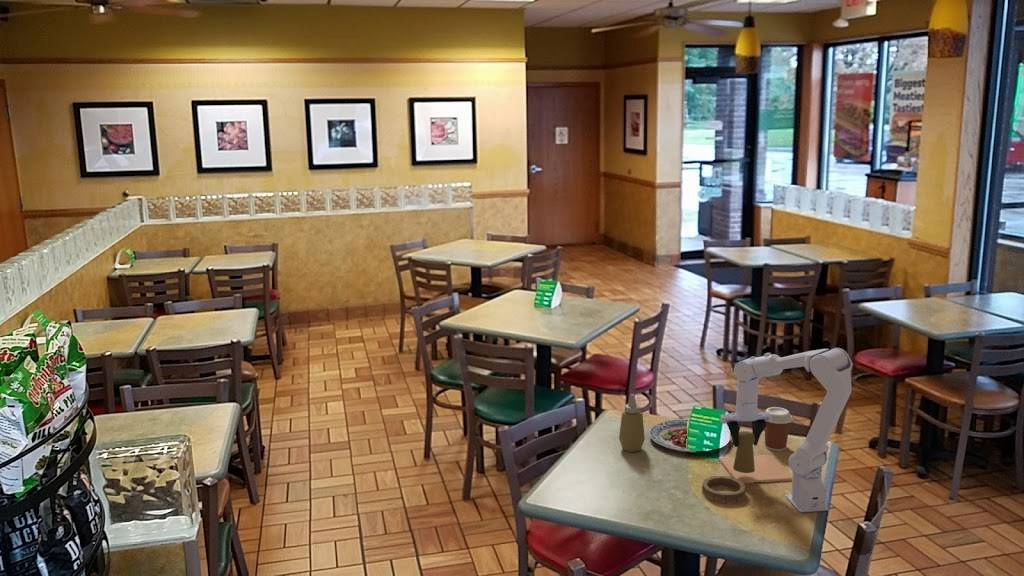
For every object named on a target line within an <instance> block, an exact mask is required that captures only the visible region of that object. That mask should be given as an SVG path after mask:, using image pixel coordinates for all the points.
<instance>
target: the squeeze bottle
mask: <svg viewBox="0 0 1024 576" xmlns="http://www.w3.org/2000/svg"><path fill="white" fill-rule="evenodd" d="M628 400H629V401H628V403H627V404H625V405H624V410H623V411H622V413H621V419H620V425H619V426H620V427H619V434H618V435H619V437H618V438H619V439H618V440H619V441H620V442H619V443H620V446H621V448H622V449H623V450H624V451H626V452H630V453H636V452H640V451H641V450H642V449H643V445H644V443H645V426H644V416H643V414H644V413H642V411H640V409H641V407H640V405H639V404H638V403H637V402H636V397H635V394H632V393H631V394H630V395H629V399H628Z"/></svg>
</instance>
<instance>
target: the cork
mask: <svg viewBox="0 0 1024 576" xmlns="http://www.w3.org/2000/svg"><path fill="white" fill-rule="evenodd" d="M754 442H755V436H754V434H753V433H752V431H748V430H742V431H739V435H738V447H736V452H735V456H734V457H735V461H734V466H733V469H734V470H736V471H738V472H742V473H752V472H754V471H755V466H754V456H755V455H754Z"/></svg>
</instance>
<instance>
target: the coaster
mask: <svg viewBox="0 0 1024 576" xmlns="http://www.w3.org/2000/svg"><path fill="white" fill-rule="evenodd" d="M734 461H735V456H727V457H724V456H723V457H718V462H719V463H720V462H721V463H720V464H721V465H722V466H723V468H725V470H726V471H727V472H728V474H729V475H730V476H731V477H732V478H735V479H737V480H739V481H741V482H742V483H743V484H744V485H745V484H755V483H754V482H761V483H773V482H786V481H791V482H792V480H793V477H792V476H790V474H789V473H788V472H787V471H786V470H785V469H784V468H783V467H782V466H781V464H779V463H778V462H777V461H776V460H775V459H774V458H773V456H771V455H770V454H761V455H758V454H757V455H754V466H755V471H754V472H752V473H742V472H738V471H736V470H734V469H733V466H734Z"/></svg>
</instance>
